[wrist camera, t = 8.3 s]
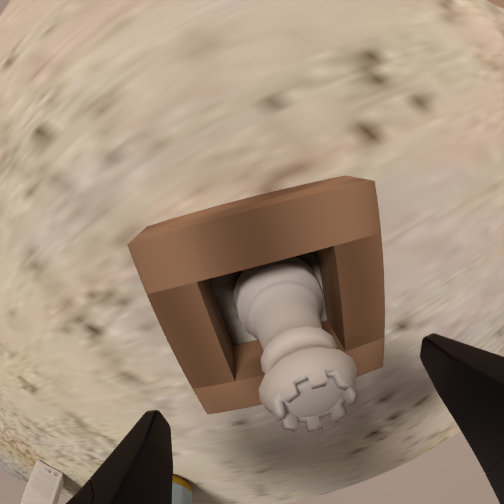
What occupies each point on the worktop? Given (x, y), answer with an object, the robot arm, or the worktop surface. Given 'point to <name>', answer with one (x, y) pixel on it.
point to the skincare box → (43, 485)
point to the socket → (256, 254)
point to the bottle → (181, 491)
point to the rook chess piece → (294, 344)
